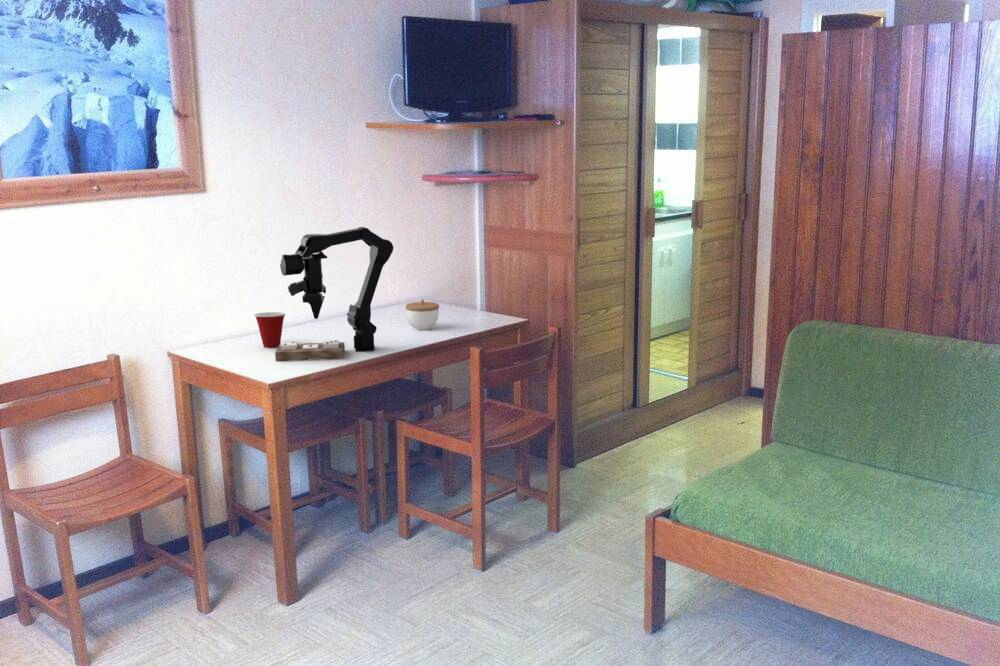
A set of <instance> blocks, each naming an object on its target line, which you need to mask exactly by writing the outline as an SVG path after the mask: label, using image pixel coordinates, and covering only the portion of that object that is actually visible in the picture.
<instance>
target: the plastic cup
mask: <svg viewBox="0 0 1000 666" xmlns="http://www.w3.org/2000/svg"><path fill="white" fill-rule="evenodd" d="M285 315H286V312H280V311H278V312H277V311H273V312H272V311H271V312H269V311H267V312H259V313H258V312H257V313H255V314H253V316H254V317H255V319H256V323H257V325H258V331H259V334H260V338H261V342H262V345H263V347H264V348H267V349H268V348H269V349H271V348H273V349H274V348H278V346H279V344H282V342H281V340H282V334H283V324H284V320H285Z"/></svg>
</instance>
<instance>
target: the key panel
mask: <svg viewBox="0 0 1000 666" xmlns="http://www.w3.org/2000/svg"><path fill="white" fill-rule="evenodd" d="M323 343H324V342H309V343H308V342H307V343H304V342H302V343H298V347H297V350H281V344H282V343H280V344H279V346H278V347H276V350H275V352H274V355H275V356H274V357H275V358H274V359H275V362H289V361H288V360H298V361H309V360H308V359H327V360H343V359H344V356H345V352H346V350H345V342H344V341H343V342H342V341H339V348H328V349H323ZM313 344H319V348H318V349H302V348H303V345H313ZM344 351H345V352H344Z"/></svg>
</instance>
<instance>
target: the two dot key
mask: <svg viewBox="0 0 1000 666" xmlns="http://www.w3.org/2000/svg"><path fill="white" fill-rule="evenodd" d="M280 344H281V350H297V347H298V344H299V342H298V341H282V342H281V343H280Z"/></svg>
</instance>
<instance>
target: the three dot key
mask: <svg viewBox="0 0 1000 666" xmlns="http://www.w3.org/2000/svg"><path fill="white" fill-rule="evenodd" d="M339 342H340V340H338V339H337V340H324V341H323V342H322V343H323V349H328V348H339Z"/></svg>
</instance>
